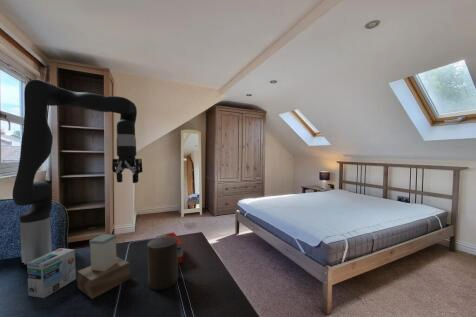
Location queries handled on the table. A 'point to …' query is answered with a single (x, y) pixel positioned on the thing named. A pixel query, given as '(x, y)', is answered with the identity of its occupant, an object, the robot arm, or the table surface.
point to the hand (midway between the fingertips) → (127, 182)
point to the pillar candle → (162, 263)
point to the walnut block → (103, 278)
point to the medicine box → (179, 245)
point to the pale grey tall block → (103, 252)
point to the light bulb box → (51, 272)
